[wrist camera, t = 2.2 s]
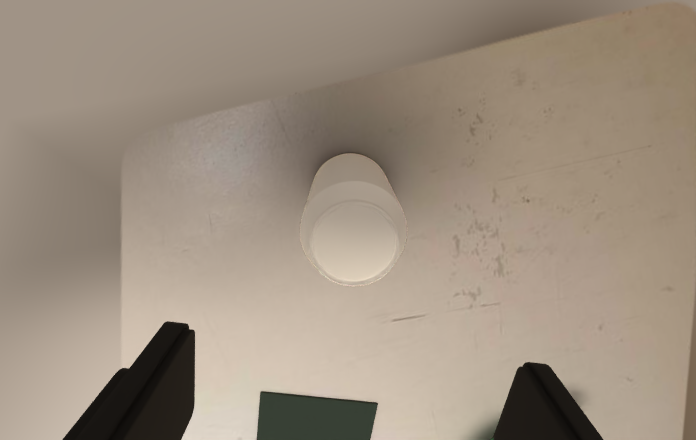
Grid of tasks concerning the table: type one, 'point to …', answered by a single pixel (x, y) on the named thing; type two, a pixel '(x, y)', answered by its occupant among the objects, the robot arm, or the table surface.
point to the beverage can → (352, 221)
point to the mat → (313, 418)
